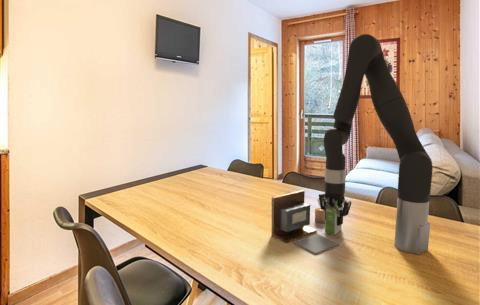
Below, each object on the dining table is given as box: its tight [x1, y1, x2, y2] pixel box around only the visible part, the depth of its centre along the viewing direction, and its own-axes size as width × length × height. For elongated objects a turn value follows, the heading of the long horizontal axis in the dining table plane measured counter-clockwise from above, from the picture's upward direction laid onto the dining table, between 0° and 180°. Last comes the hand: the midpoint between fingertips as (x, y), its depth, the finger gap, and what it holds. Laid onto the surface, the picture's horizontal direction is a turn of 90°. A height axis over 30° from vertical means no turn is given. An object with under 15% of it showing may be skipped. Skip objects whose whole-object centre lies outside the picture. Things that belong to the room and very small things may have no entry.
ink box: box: [324, 200, 342, 236], centre depth 116 cm, size 7×4×13 cm, turn 140°
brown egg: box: [314, 207, 326, 224], centre depth 127 cm, size 4×4×5 cm
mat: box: [293, 233, 340, 256], centre depth 106 cm, size 10×12×1 cm
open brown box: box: [271, 189, 318, 244], centre depth 114 cm, size 8×16×15 cm, turn 124°
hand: (333, 222), depth 116 cm, fingers closed on ink box, 4 cm apart
